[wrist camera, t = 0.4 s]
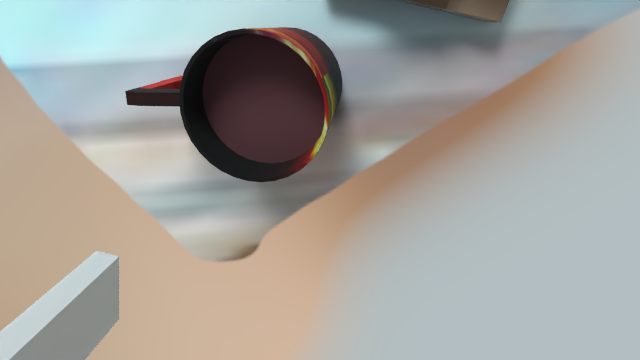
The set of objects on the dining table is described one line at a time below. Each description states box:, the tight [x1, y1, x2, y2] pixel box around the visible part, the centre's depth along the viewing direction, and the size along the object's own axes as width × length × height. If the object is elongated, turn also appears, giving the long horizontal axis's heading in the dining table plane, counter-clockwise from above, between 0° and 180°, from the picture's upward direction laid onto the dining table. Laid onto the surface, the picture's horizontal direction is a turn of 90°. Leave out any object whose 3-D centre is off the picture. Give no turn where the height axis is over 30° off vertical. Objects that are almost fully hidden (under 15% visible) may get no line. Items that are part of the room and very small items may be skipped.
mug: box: [125, 28, 342, 182], centre depth 30 cm, size 10×14×12 cm
